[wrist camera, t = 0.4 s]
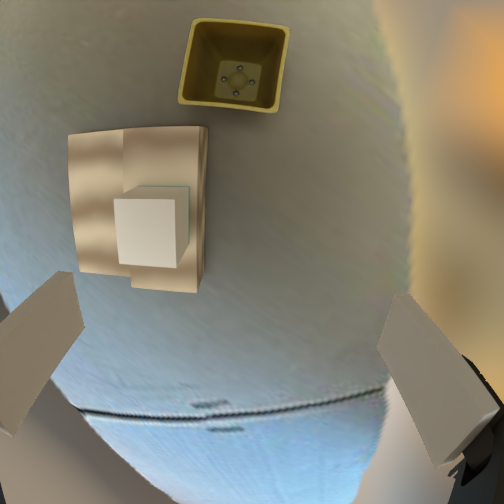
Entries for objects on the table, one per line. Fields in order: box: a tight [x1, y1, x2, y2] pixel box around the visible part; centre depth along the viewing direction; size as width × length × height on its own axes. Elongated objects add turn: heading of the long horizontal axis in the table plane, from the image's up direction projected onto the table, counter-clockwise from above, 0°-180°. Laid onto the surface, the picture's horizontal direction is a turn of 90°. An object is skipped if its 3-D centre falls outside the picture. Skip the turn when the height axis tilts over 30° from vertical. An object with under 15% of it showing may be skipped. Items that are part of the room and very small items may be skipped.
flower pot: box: [178, 18, 290, 114], centre depth 25 cm, size 9×9×9 cm
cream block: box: [114, 186, 190, 268], centre depth 26 cm, size 6×6×6 cm
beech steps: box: [68, 126, 208, 293], centre depth 31 cm, size 18×17×6 cm
